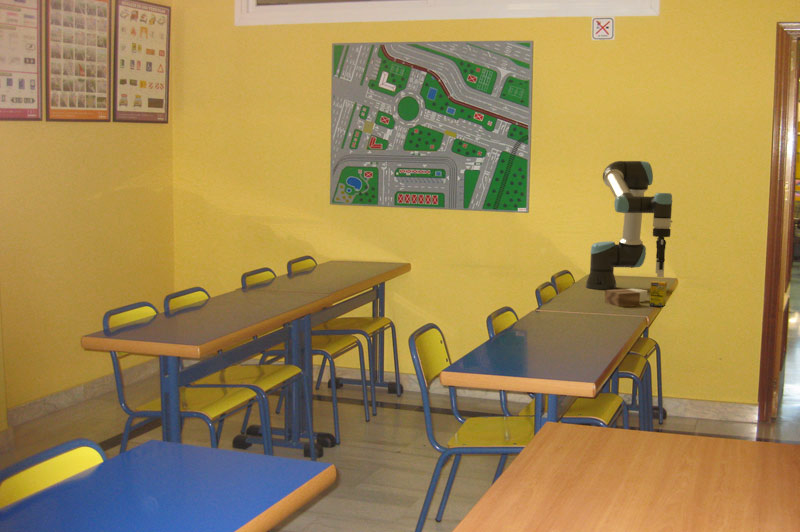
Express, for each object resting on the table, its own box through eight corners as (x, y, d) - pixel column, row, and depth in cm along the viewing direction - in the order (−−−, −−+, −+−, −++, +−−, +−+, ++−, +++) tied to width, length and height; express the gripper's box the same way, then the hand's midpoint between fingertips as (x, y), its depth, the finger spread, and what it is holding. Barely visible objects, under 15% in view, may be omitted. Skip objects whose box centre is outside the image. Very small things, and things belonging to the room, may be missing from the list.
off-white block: (622, 300, 403) (622, 289, 402) (631, 298, 408) (632, 288, 408) (637, 302, 397) (638, 292, 397) (646, 301, 403) (647, 290, 402)
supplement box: (649, 306, 387) (650, 282, 386) (652, 304, 392) (653, 280, 391) (663, 307, 384) (664, 283, 383) (665, 305, 390) (667, 281, 388)
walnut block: (604, 302, 396) (605, 290, 395) (625, 301, 400) (625, 289, 399) (618, 306, 386) (619, 293, 385) (639, 305, 389) (639, 292, 389)
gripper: (672, 229, 371) (670, 278, 373) (668, 226, 395) (666, 272, 397) (654, 229, 373) (652, 278, 375) (651, 225, 397) (649, 271, 399)
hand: (659, 275), depth 386 cm, fingers open, 13 cm apart
